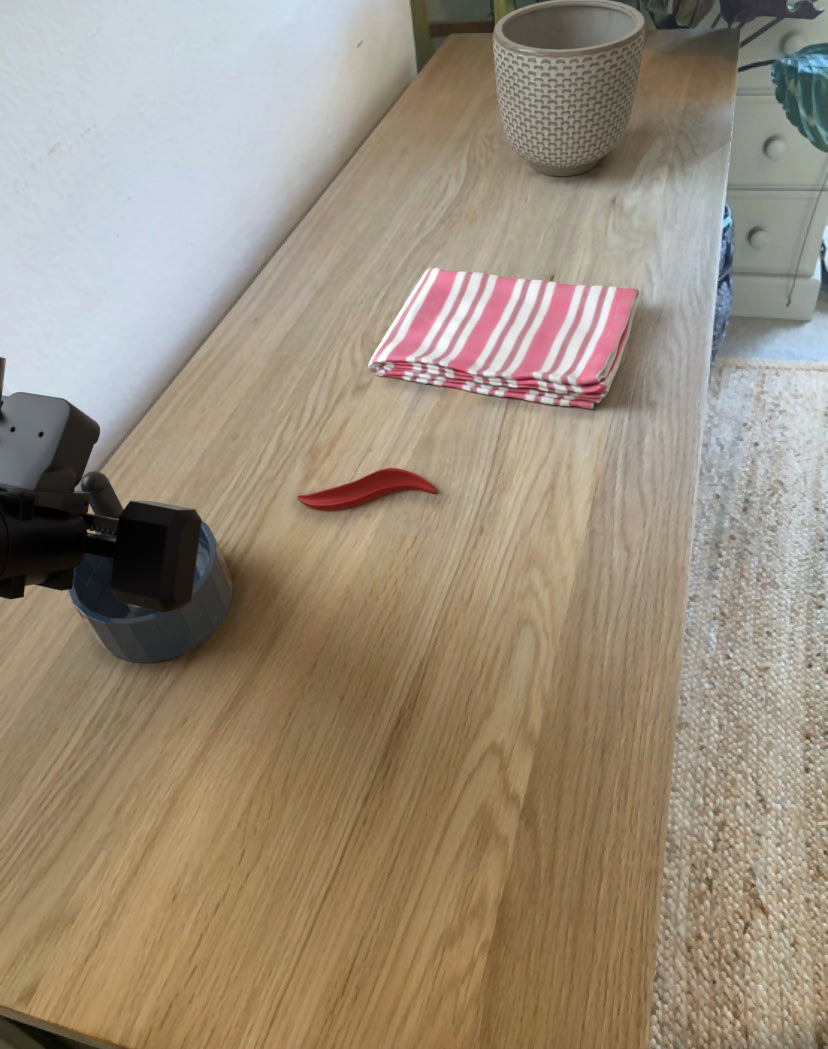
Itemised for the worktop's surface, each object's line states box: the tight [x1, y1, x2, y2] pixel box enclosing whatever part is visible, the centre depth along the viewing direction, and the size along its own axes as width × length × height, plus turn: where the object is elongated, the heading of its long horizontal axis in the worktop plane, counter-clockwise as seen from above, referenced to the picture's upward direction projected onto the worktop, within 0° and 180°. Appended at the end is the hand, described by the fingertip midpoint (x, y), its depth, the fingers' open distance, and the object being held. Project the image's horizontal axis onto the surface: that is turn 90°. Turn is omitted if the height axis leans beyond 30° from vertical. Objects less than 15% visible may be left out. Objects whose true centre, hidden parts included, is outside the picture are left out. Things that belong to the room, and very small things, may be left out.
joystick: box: [79, 470, 158, 618], centre depth 61 cm, size 4×4×14 cm
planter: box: [492, 0, 646, 177], centre depth 103 cm, size 17×17×16 cm
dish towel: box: [367, 266, 640, 410], centre depth 84 cm, size 17×23×4 cm
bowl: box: [67, 520, 234, 664], centre depth 65 cm, size 11×11×5 cm
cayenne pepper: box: [297, 467, 438, 512], centre depth 72 cm, size 12×5×2 cm, turn 82°
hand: (137, 528), depth 62 cm, fingers open, 9 cm apart
